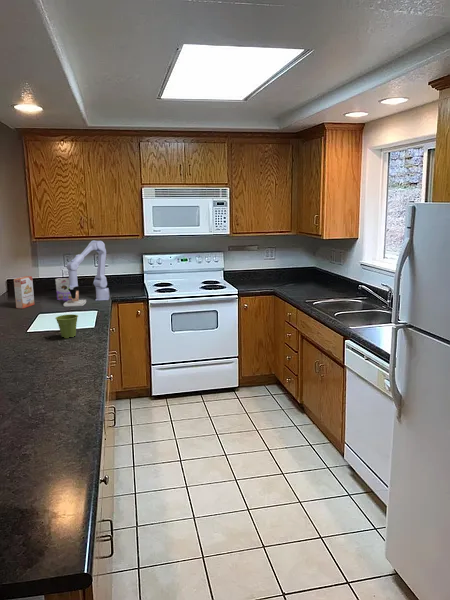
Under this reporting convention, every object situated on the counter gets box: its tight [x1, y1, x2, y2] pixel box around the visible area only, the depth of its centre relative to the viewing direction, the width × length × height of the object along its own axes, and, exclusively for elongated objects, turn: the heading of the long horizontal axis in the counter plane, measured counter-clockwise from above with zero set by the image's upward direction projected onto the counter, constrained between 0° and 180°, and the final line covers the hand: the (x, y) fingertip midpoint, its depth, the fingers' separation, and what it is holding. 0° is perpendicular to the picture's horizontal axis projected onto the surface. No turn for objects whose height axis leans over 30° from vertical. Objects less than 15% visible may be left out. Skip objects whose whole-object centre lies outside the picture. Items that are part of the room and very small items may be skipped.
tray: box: [63, 299, 87, 307], centre depth 352 cm, size 13×13×2 cm
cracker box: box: [13, 275, 35, 310], centre depth 346 cm, size 14×6×21 cm, turn 168°
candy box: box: [54, 277, 72, 302], centre depth 367 cm, size 14×6×16 cm, turn 84°
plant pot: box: [54, 314, 79, 339], centre depth 266 cm, size 12×12×11 cm
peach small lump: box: [71, 290, 80, 301], centre depth 351 cm, size 5×5×7 cm
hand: (74, 297), depth 351 cm, fingers closed on peach small lump, 5 cm apart
